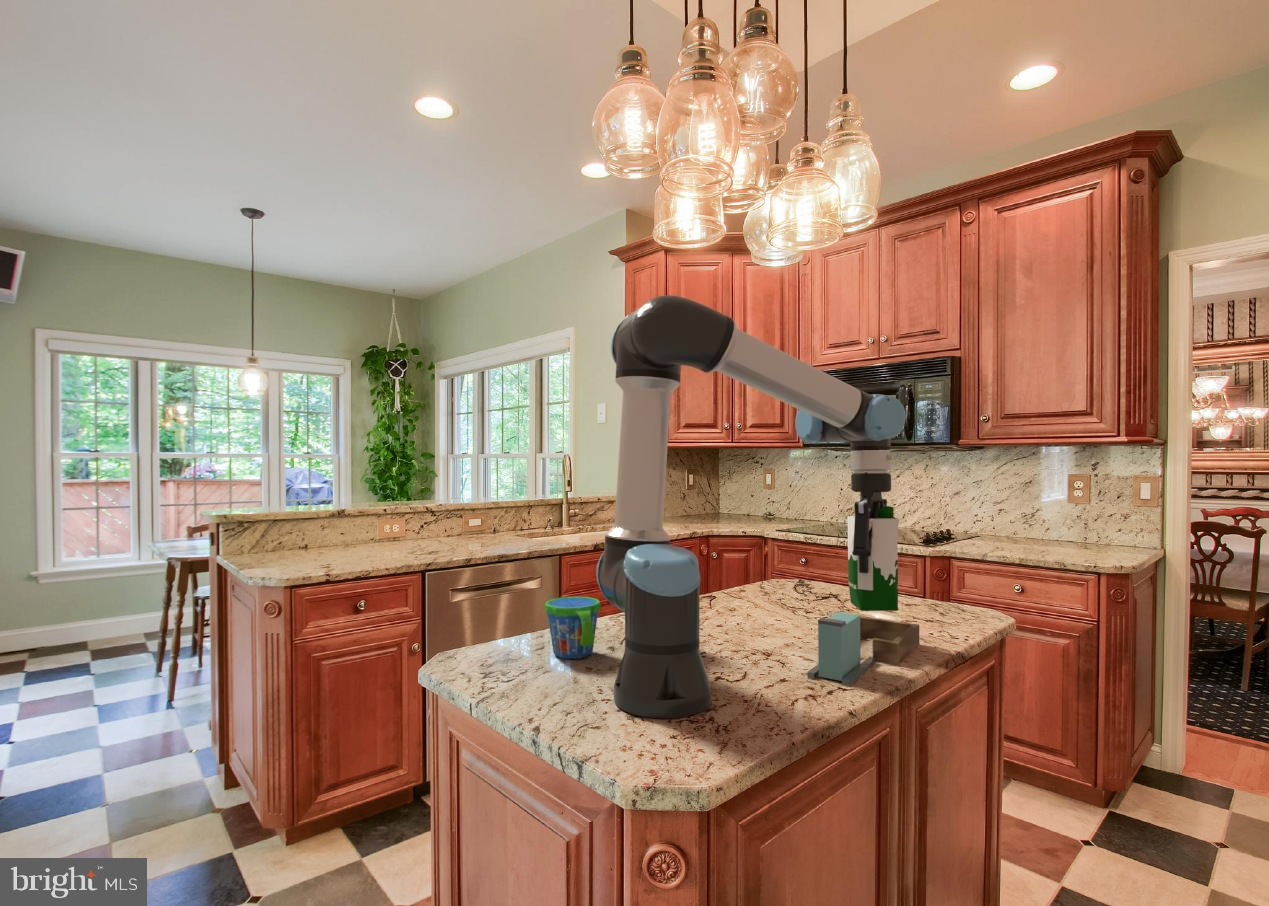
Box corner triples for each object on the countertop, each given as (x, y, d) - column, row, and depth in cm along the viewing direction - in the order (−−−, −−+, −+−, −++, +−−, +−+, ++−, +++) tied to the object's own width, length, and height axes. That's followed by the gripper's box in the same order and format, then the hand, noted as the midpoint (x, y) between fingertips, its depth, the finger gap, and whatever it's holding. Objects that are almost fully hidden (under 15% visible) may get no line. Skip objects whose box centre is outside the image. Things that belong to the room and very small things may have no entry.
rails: (807, 677, 109) (807, 671, 109) (837, 655, 121) (837, 650, 121) (849, 686, 104) (849, 680, 104) (876, 663, 116) (876, 657, 116)
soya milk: (904, 612, 122) (902, 508, 122) (857, 612, 123) (855, 509, 123) (888, 601, 131) (886, 505, 131) (844, 601, 131) (842, 505, 131)
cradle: (820, 651, 123) (820, 630, 123) (848, 633, 136) (847, 614, 137) (897, 665, 115) (897, 643, 115) (919, 644, 128) (919, 624, 128)
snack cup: (537, 646, 128) (537, 595, 128) (587, 640, 131) (587, 591, 131) (555, 670, 113) (555, 613, 113) (611, 663, 117) (611, 608, 117)
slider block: (818, 676, 108) (817, 619, 109) (838, 661, 116) (837, 608, 117) (842, 681, 106) (841, 623, 106) (860, 665, 114) (860, 612, 114)
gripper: (874, 473, 116) (876, 597, 116) (904, 471, 133) (905, 579, 133) (834, 473, 121) (835, 592, 120) (867, 471, 137) (868, 575, 137)
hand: (872, 585), depth 127 cm, fingers closed on soya milk, 8 cm apart
